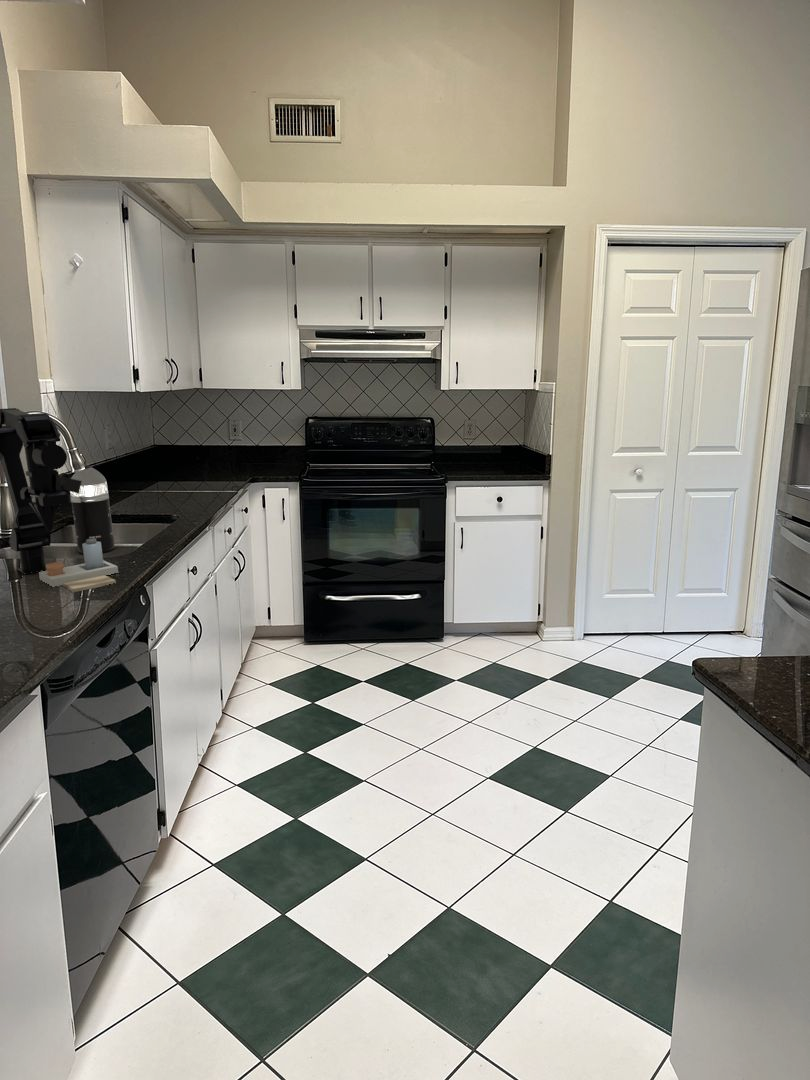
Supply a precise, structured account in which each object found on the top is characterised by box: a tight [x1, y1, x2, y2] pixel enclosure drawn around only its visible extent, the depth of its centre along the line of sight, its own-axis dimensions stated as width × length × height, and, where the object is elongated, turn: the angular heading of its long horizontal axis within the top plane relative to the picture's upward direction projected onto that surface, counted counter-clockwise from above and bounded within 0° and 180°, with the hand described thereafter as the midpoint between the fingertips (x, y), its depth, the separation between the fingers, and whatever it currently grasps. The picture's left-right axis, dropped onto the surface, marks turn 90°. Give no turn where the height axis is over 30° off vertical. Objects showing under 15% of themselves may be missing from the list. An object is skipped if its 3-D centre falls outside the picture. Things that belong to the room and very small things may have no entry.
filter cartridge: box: [82, 539, 104, 570], centre depth 192 cm, size 4×4×9 cm
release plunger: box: [45, 561, 65, 576], centre depth 186 cm, size 4×4×3 cm
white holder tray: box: [38, 559, 119, 588], centre depth 190 cm, size 10×16×2 cm, turn 132°
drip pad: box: [62, 575, 117, 593], centre depth 182 cm, size 7×10×1 cm
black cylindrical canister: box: [69, 464, 115, 554], centre depth 216 cm, size 10×10×25 cm
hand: (49, 530), depth 183 cm, fingers closed
